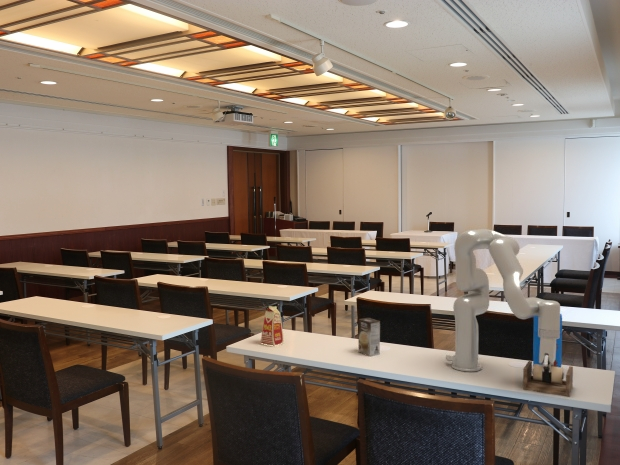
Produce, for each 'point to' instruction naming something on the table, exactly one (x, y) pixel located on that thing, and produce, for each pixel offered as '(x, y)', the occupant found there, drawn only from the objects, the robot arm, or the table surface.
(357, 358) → the table surface
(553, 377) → the kraft roll
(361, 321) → the coffee box
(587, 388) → the table surface
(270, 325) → the milk carton
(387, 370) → the table surface
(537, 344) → the thermos
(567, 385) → the cradle
